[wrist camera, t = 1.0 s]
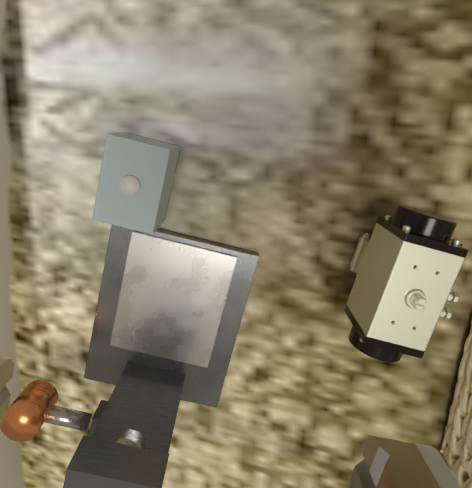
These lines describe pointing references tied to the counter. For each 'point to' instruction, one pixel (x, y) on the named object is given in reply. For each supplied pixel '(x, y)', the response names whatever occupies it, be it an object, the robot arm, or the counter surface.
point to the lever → (40, 413)
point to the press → (157, 348)
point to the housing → (135, 182)
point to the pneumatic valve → (402, 283)
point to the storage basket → (461, 422)
